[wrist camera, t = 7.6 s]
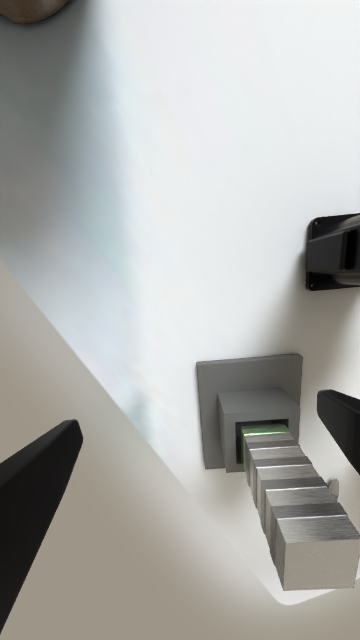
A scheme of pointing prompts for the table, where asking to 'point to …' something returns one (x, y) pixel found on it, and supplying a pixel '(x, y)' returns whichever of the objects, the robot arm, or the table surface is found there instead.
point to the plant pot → (29, 9)
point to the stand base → (246, 402)
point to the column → (298, 513)
